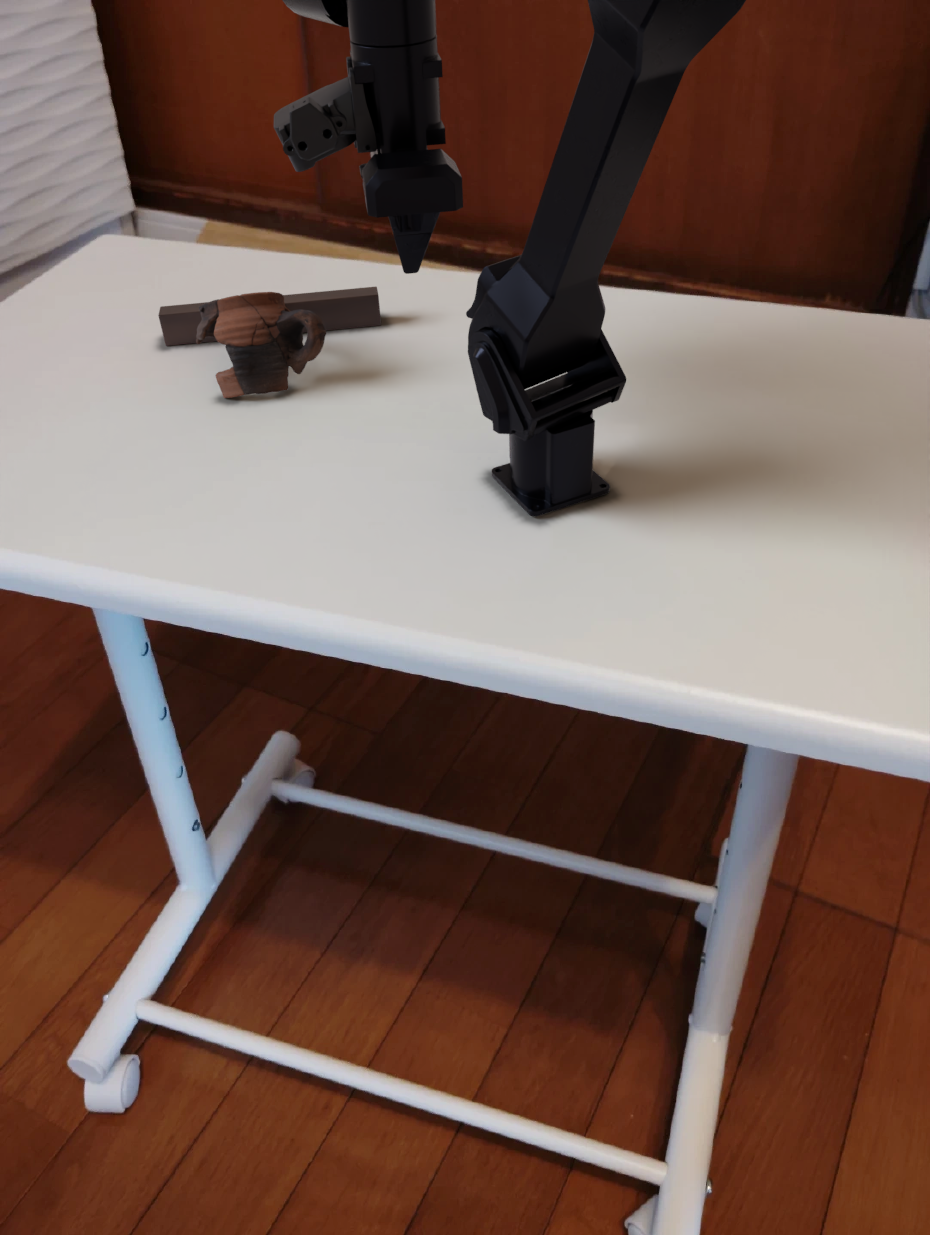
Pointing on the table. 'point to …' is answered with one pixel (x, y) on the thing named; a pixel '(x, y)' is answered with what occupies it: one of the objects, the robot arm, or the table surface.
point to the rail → (329, 305)
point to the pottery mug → (260, 341)
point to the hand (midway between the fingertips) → (410, 271)
